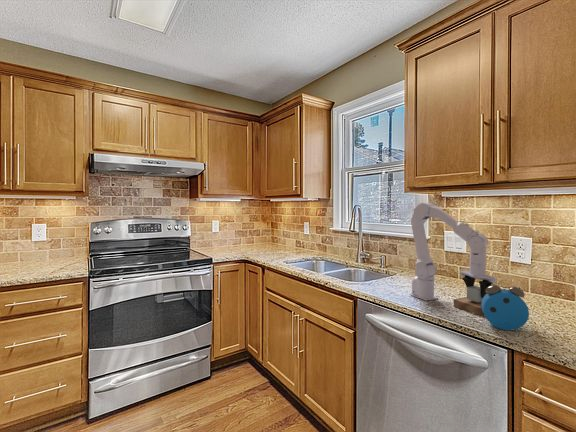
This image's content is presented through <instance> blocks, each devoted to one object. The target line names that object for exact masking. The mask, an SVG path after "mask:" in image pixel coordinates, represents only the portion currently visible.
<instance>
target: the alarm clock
mask: <svg viewBox="0 0 576 432" xmlns="http://www.w3.org/2000/svg"><path fill="white" fill-rule="evenodd" d="M525 297H526V295H525V292H524V290H523V289H522V288H521V287H517V286H510V287H509V288H508V289H507V287H506V286H502V288H501V286H499V284H498V285H497V284H492V285H490V286H488V287H487V288H486V295H485V296H484V297H483V299H482V304H481V306H482V311H483V313H484V315H483V316H484V317H485V319H486V320H487V322H489V323H490V325H492V326H493V327H495V328H497V329H500V330H503V331H515V330H517V329H521V328H522V327H524V326H525V325H526V324H527V322H528V320H529V317H530V311H529V307H528V305H527V303H526V302H525V300H523V298H525Z"/></svg>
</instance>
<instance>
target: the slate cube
mask: <svg viewBox="0 0 576 432" xmlns="http://www.w3.org/2000/svg"><path fill="white" fill-rule="evenodd" d="M466 297H467V299H469V300H472V301H475V302H482V299H483V298H481V289H480V286H478V285H474V286H470V287H466Z"/></svg>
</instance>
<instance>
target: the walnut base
mask: <svg viewBox="0 0 576 432" xmlns="http://www.w3.org/2000/svg"><path fill="white" fill-rule="evenodd" d="M481 304H482V302H475V301H472V300H469V299H467V296H466V297H465V296H464V297H459V298H455V299H454V298H453V307H454V308H457V309H460V310H464V311H466V312H468V313H473V314H475V315H478V316H485V315H484V313H483V311H482V306H481Z"/></svg>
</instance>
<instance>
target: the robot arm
mask: <svg viewBox="0 0 576 432" xmlns="http://www.w3.org/2000/svg"><path fill="white" fill-rule="evenodd" d="M411 216H412V217H411V219H410V220H411V221H410V225H411V230H412V235H413V236H412V237H413V241H414V242H413V243H414V246H415V252H416V258H417V259H416V262H415V270H414V273H415V276H414V277H413V279H412V281H411V294H410V296H412V297H415V298H417V299H421V300H423V301H432V300H438V299H439V297H438V296H436V295H435V276H436V274H437V270H438V269H437V266H436V265H435V264H434V261H433V259H432V258H431V255H430V252H429V245H428V241H427V233H426V230H425V223H426V222H427V220H429V218H437V219H439V220H441V221H442V222H443V223H444V224H446V225H447V226H449V227H450V228H452V229H453V233H454V234H456V236H458V237H459V238H461V239H462V240H463V241H465V242H466V243H467V245H468V247H469V270H459V275H460V276H461V277H462V276H463V277H462V281H463V282H464V284H465V287H466V288H467V287H470V286H475V283H476V280H479V281H478V283H479V287H480V289H481V298H483V297H484V296H485V295H486V288H487V287H488V286H490V285H494V284H495V283H497V280H498V278H497V277H496V276H492V275H488V274H486V271H487V270H486V269H487V268H486V267H487V266H486V265H487V246H488V244H489V240H488V237H487V236H486V235H485V234H483V233H480V232H479V231H478V230H475V229H473V228H472V227H471V226H470V224H469V223H467V222H463V221H462V222H461V221H460V222H459V221H457V220H456V219H454V218H453V217H452V216H451V215H450V214H448V213H447V212H446V211H445V210H443V209H442V208H441V207H440V206H438V205H435V204H434V203H433V202H419V203H417V204H416V206H415V207H414V208H413V213H412V215H411Z"/></svg>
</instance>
